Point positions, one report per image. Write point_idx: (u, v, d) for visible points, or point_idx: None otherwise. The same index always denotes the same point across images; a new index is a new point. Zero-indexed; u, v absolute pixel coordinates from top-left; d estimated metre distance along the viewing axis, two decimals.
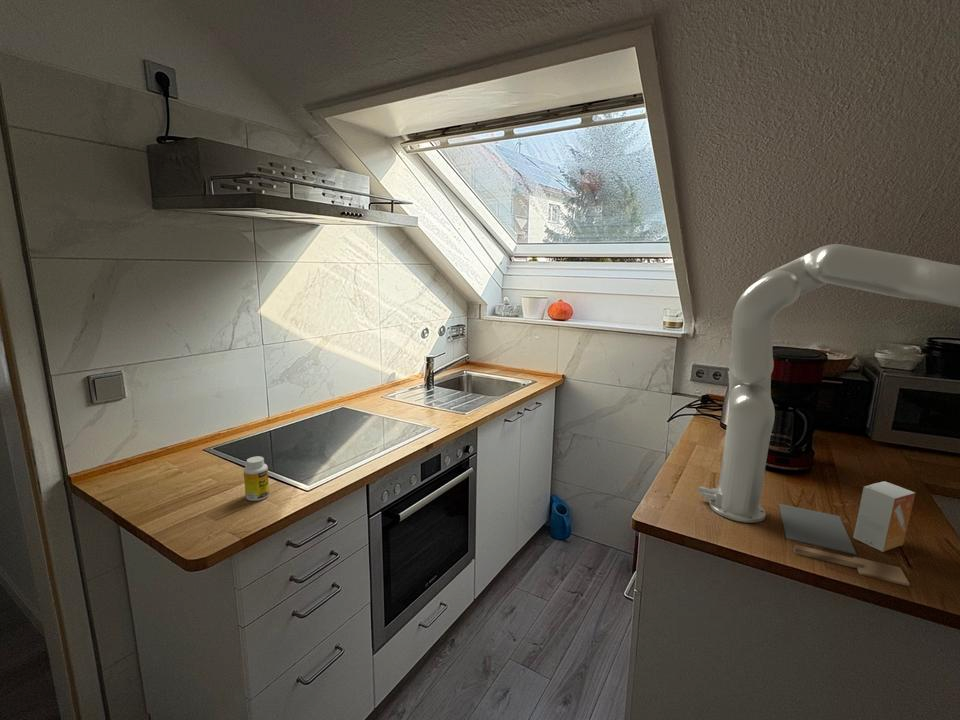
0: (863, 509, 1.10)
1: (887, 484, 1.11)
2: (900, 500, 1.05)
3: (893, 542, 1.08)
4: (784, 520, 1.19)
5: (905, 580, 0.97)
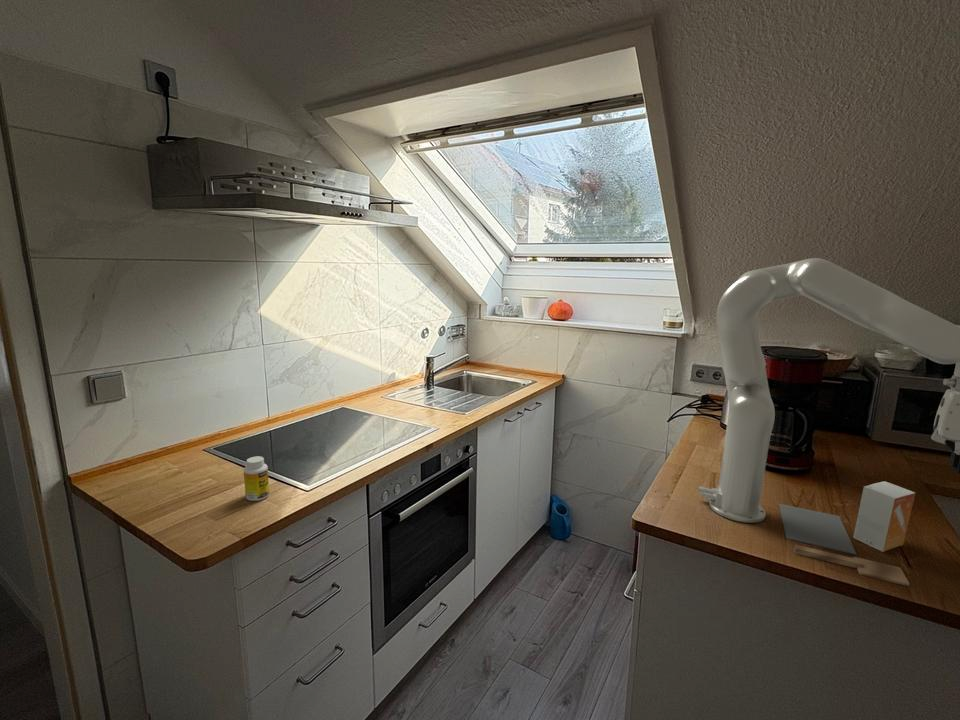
0: (863, 509, 1.10)
1: (887, 484, 1.11)
2: (900, 500, 1.05)
3: (893, 542, 1.08)
4: (784, 520, 1.19)
5: (905, 580, 0.97)
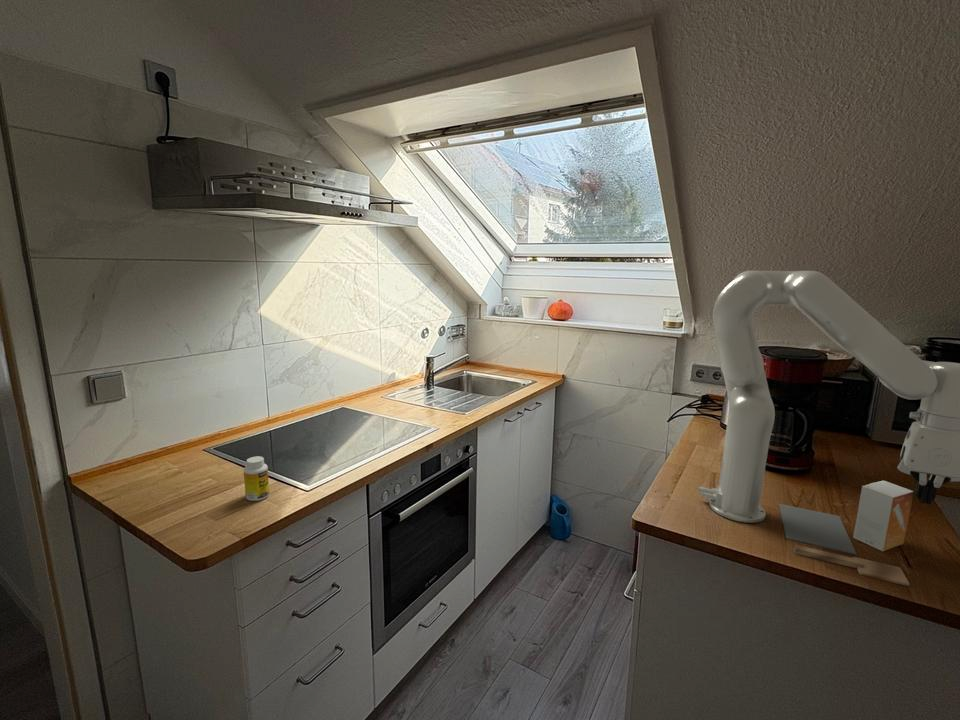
0: (862, 509, 1.10)
1: (885, 483, 1.11)
2: (899, 499, 1.05)
3: (893, 542, 1.08)
4: (784, 520, 1.19)
5: (905, 580, 0.97)
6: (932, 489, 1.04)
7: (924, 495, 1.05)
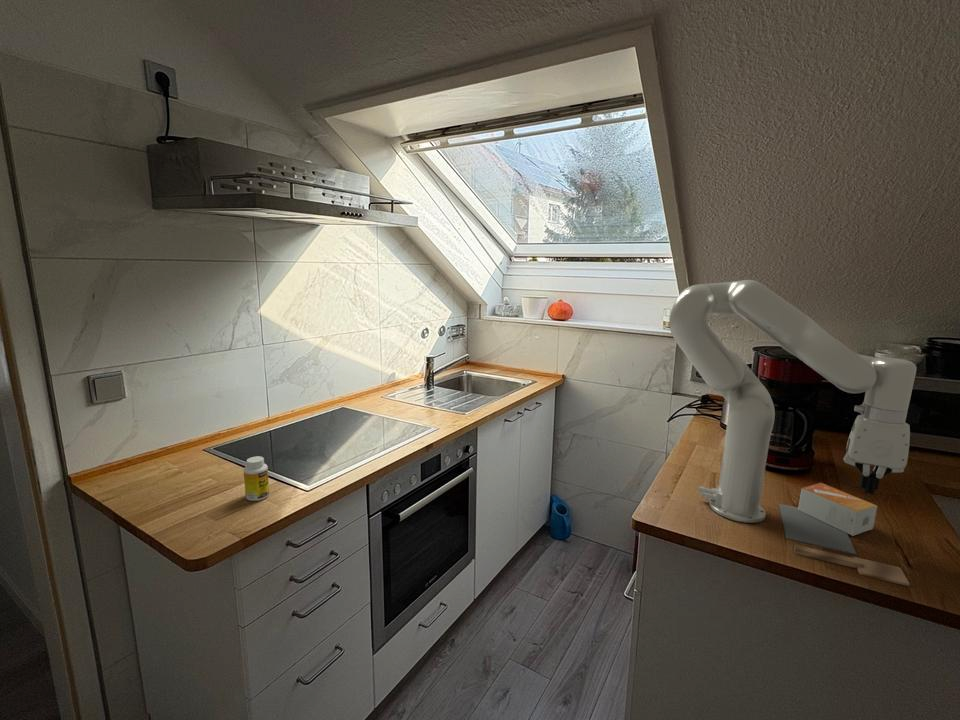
0: (819, 516, 1.19)
1: None
2: (809, 487, 1.23)
3: (858, 505, 1.14)
4: (784, 520, 1.19)
5: (905, 580, 0.97)
6: (875, 480, 1.08)
7: (867, 485, 1.09)
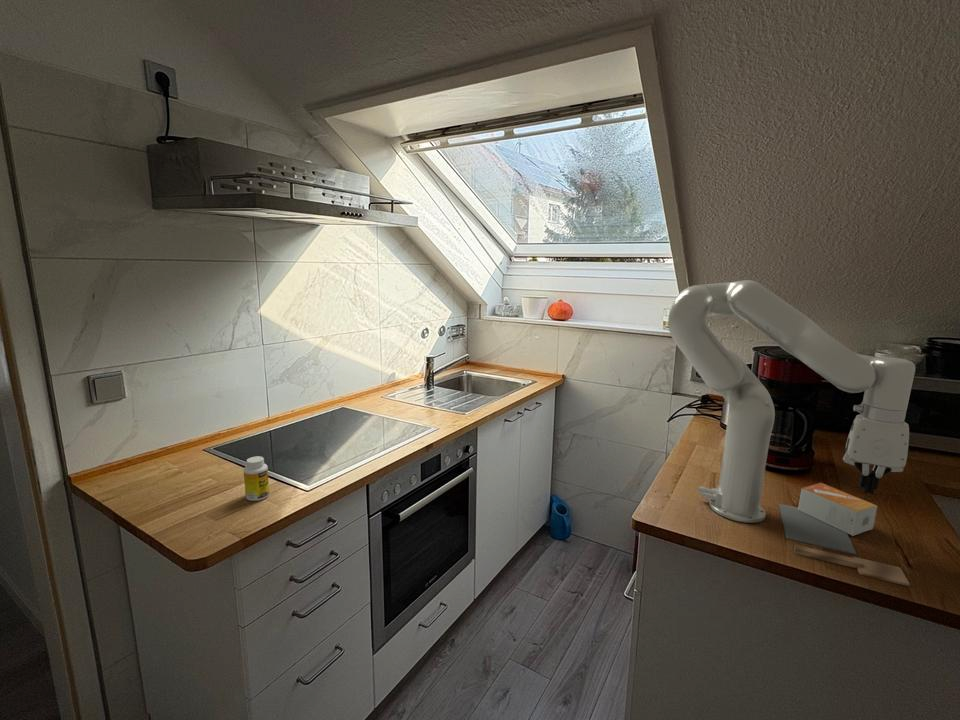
0: (819, 516, 1.19)
1: None
2: (809, 487, 1.23)
3: (858, 505, 1.14)
4: (784, 520, 1.19)
5: (905, 580, 0.97)
6: (874, 479, 1.08)
7: (867, 485, 1.09)
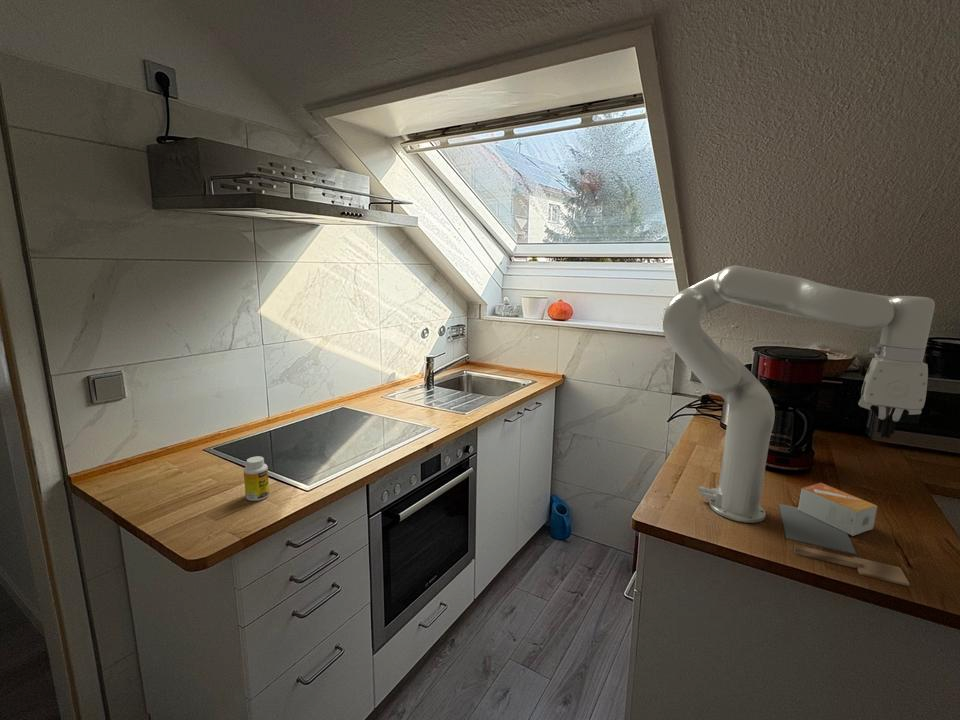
0: (819, 516, 1.19)
1: None
2: (809, 487, 1.23)
3: (858, 505, 1.14)
4: (784, 520, 1.19)
5: (905, 580, 0.97)
6: (891, 423, 1.05)
7: (883, 429, 1.06)
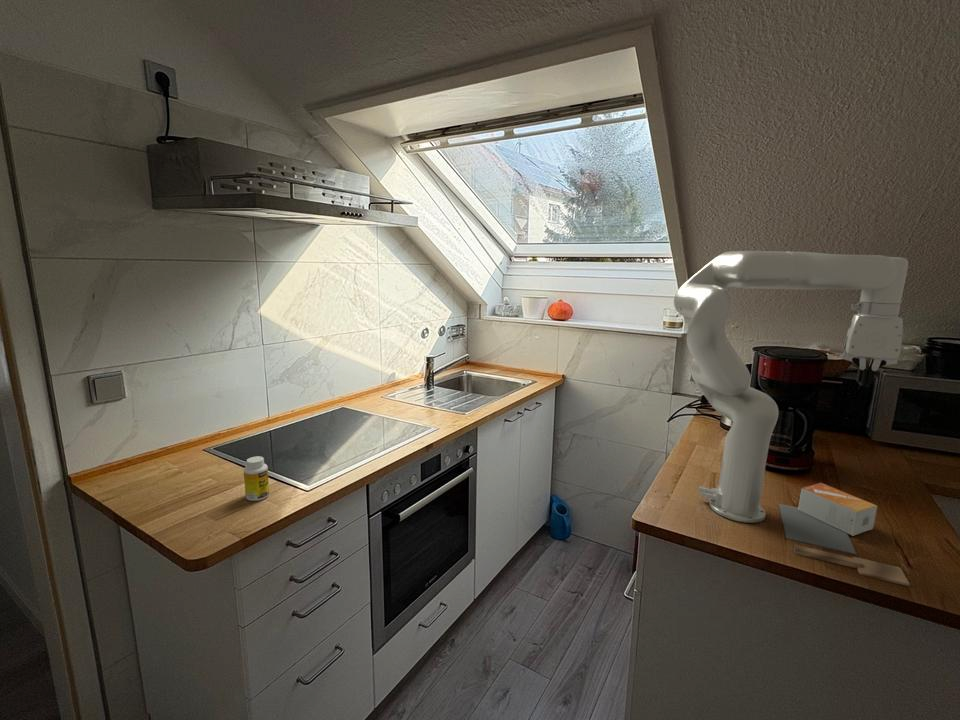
0: (819, 516, 1.19)
1: None
2: (809, 487, 1.23)
3: (858, 505, 1.14)
4: (784, 520, 1.19)
5: (905, 580, 0.97)
6: (870, 372, 1.16)
7: (864, 378, 1.17)
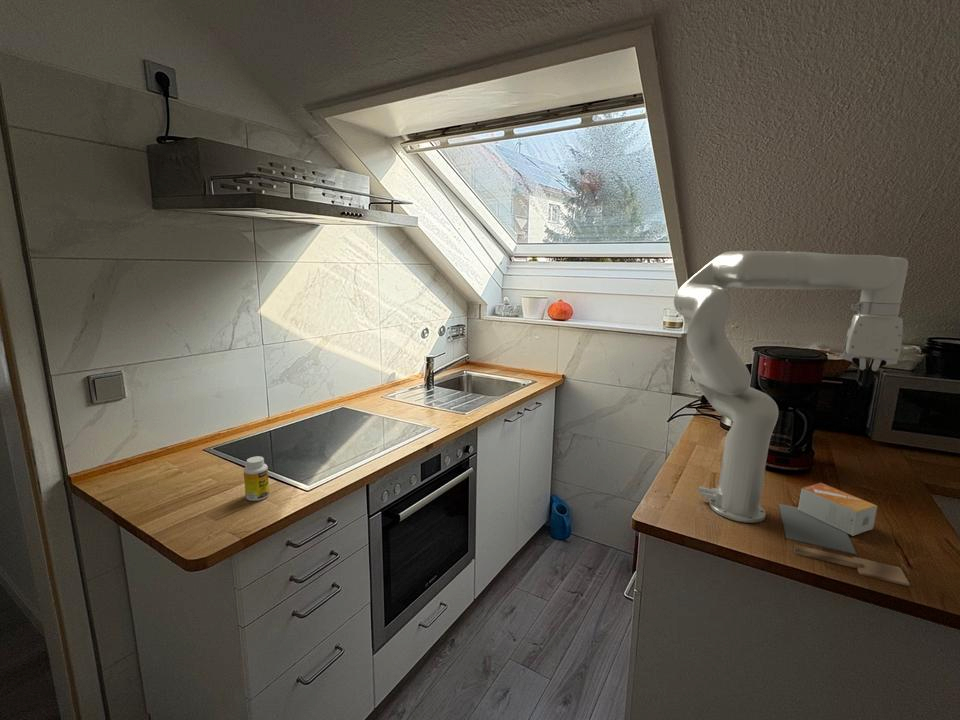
0: (819, 516, 1.19)
1: None
2: (809, 487, 1.23)
3: (858, 505, 1.14)
4: (784, 520, 1.19)
5: (905, 580, 0.97)
6: (870, 372, 1.16)
7: (864, 378, 1.17)
